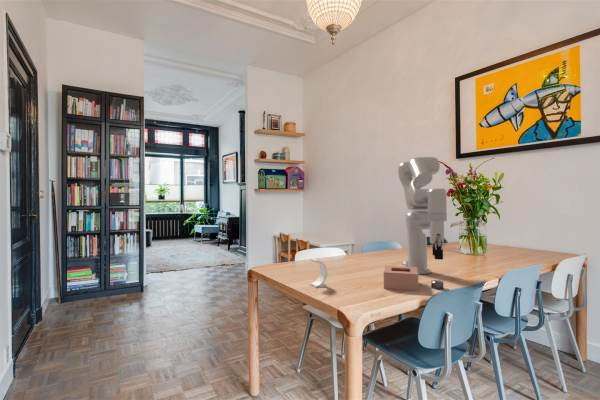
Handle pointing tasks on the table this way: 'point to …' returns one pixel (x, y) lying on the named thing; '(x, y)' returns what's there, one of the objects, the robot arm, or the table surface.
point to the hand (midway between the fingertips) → (437, 257)
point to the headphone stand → (323, 274)
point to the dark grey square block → (437, 284)
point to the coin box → (401, 278)
